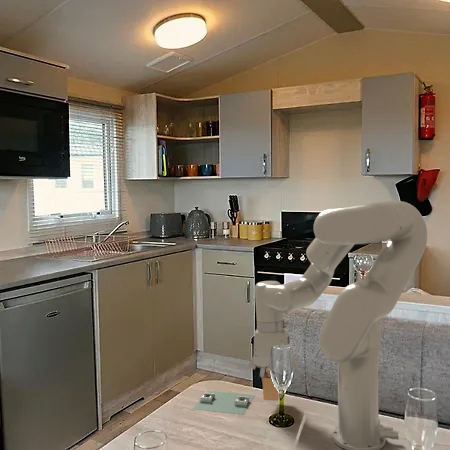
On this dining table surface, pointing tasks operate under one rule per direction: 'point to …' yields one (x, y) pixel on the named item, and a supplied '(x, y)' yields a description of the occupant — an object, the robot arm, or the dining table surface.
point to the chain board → (224, 403)
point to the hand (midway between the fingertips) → (274, 390)
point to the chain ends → (239, 402)
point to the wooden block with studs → (269, 388)
